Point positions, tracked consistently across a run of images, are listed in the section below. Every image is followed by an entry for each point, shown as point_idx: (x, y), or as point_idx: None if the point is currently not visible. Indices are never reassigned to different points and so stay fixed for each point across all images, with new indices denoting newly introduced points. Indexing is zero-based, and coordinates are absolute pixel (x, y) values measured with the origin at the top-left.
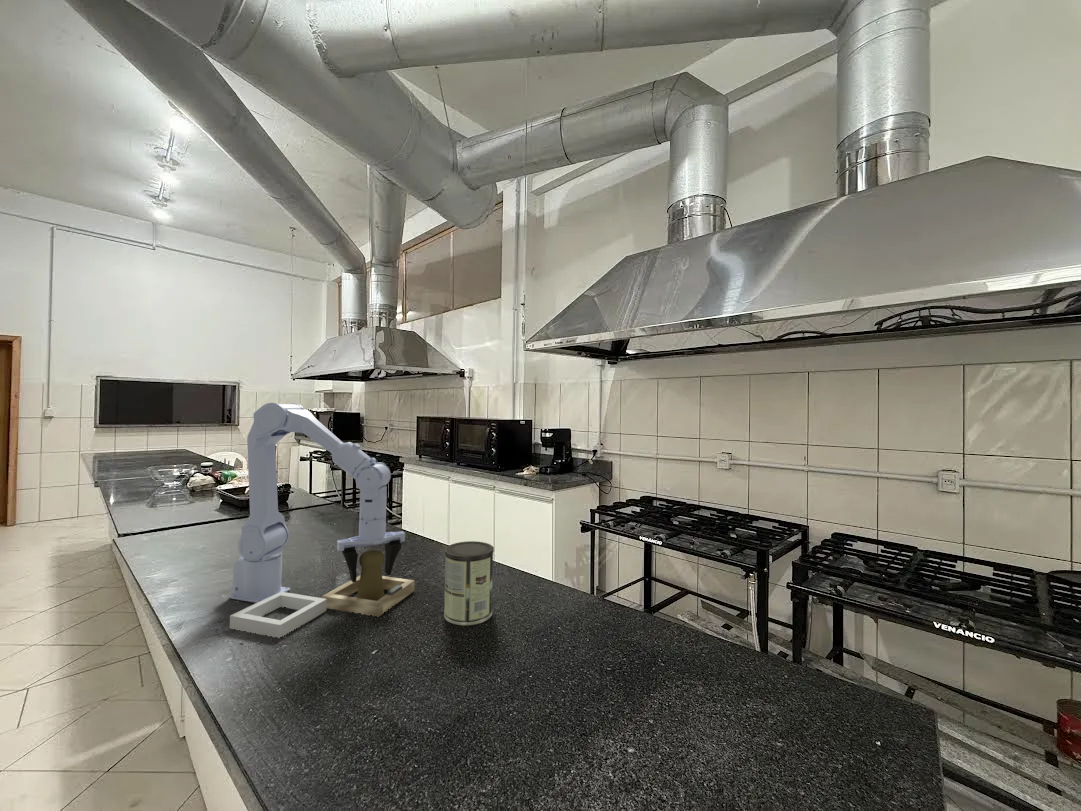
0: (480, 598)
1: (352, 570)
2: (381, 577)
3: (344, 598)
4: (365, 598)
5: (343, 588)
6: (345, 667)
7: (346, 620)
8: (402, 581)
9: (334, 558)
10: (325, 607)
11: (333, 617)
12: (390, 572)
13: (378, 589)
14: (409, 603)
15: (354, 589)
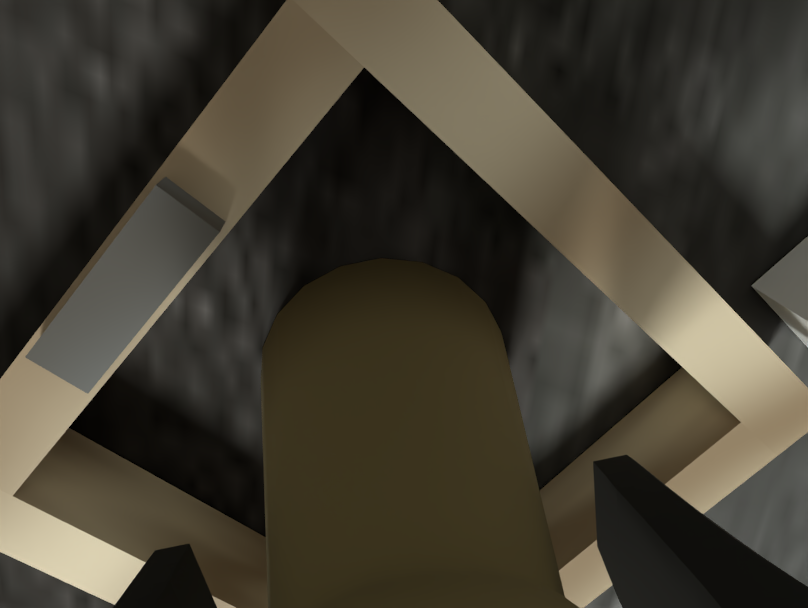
0: None
1: (751, 557)
2: (277, 486)
3: (680, 283)
4: (453, 304)
5: None
6: None
7: (654, 4)
8: (50, 515)
9: None
10: (784, 288)
11: (737, 129)
12: (146, 571)
13: (322, 355)
14: (2, 163)
15: None
